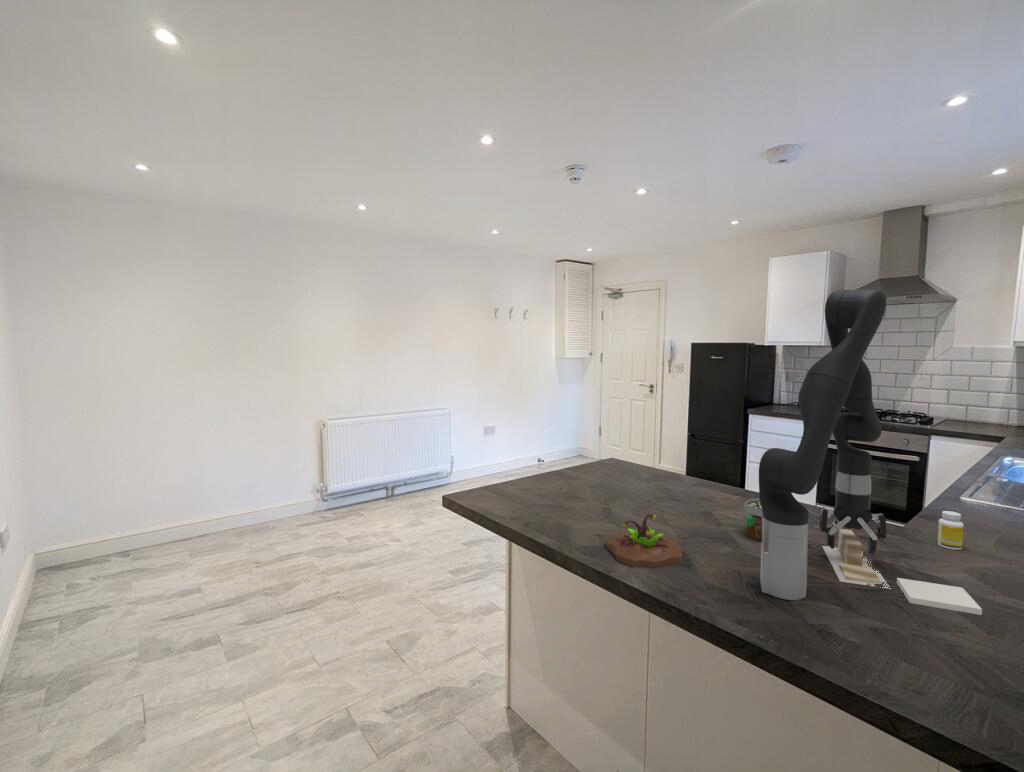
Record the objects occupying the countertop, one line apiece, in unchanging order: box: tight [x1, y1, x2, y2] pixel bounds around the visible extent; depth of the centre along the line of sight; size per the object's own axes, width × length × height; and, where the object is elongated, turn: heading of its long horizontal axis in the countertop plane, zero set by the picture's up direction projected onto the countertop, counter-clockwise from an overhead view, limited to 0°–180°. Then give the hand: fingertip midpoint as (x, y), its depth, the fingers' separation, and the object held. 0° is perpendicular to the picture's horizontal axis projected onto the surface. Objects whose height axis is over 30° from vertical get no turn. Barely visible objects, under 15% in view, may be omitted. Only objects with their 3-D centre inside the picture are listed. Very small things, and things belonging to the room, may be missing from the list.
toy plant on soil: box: [605, 513, 683, 569], centre depth 136 cm, size 20×20×11 cm
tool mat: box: [821, 545, 892, 590], centre depth 125 cm, size 10×23×1 cm, turn 157°
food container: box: [743, 498, 763, 542], centre depth 147 cm, size 12×6×10 cm, turn 141°
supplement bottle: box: [936, 510, 965, 551], centre depth 137 cm, size 5×5×10 cm
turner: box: [837, 528, 881, 584], centre depth 125 cm, size 20×7×6 cm, turn 156°
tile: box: [896, 577, 983, 616], centre depth 108 cm, size 12×2×10 cm
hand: (850, 550), depth 127 cm, fingers open, 8 cm apart
